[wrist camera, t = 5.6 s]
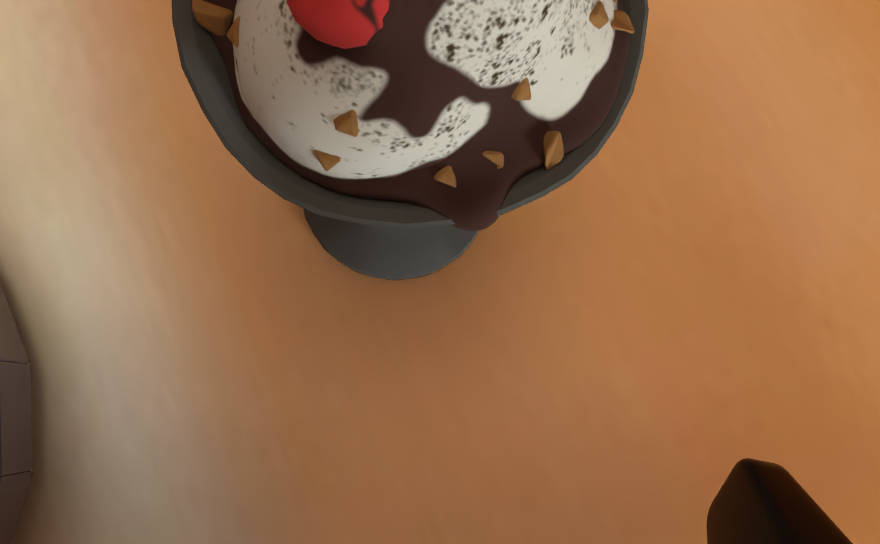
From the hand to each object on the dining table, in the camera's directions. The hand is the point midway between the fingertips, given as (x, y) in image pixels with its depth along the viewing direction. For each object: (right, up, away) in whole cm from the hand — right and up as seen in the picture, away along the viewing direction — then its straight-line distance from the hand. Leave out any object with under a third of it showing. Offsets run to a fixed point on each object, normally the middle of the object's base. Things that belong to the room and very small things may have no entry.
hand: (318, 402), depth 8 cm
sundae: (0, +4, +13) cm, 13 cm away
